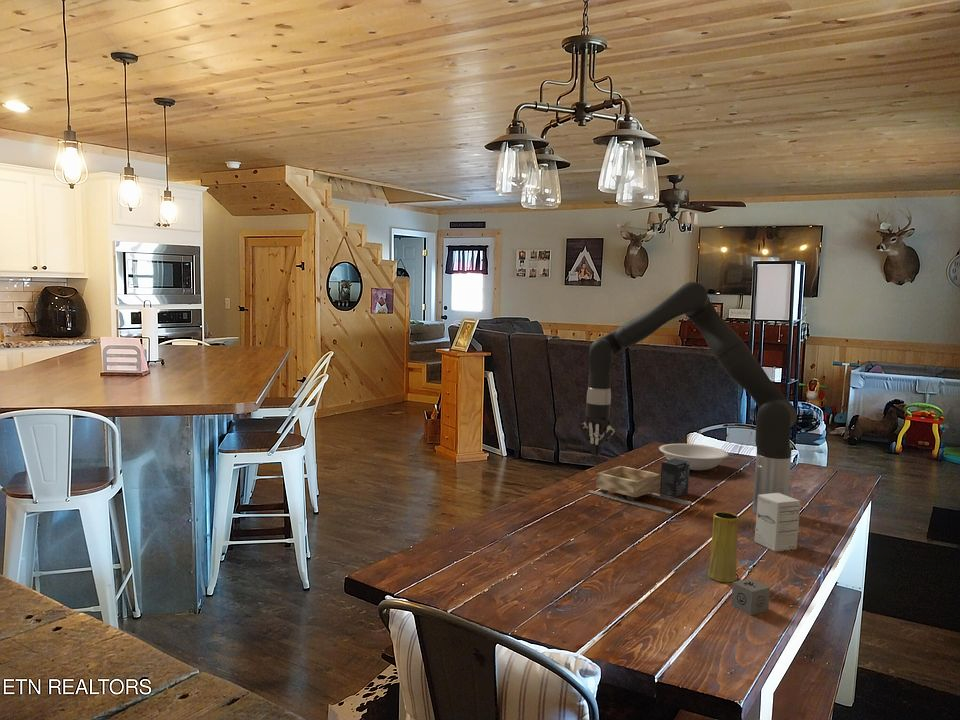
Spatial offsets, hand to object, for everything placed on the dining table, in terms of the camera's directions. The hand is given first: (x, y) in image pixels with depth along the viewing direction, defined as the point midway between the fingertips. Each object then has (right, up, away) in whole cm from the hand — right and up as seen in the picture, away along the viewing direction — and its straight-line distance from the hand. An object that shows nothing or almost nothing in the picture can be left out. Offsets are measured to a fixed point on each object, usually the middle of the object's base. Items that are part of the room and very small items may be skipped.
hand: (595, 455), depth 230 cm
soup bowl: (+40, -9, +31) cm, 51 cm away
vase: (+17, -18, -69) cm, 74 cm away
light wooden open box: (+9, -12, -7) cm, 16 cm away
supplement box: (+38, -17, -48) cm, 63 cm away
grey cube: (+18, -20, -85) cm, 89 cm away
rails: (+12, -12, -10) cm, 19 cm away
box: (+24, -12, -3) cm, 27 cm away
